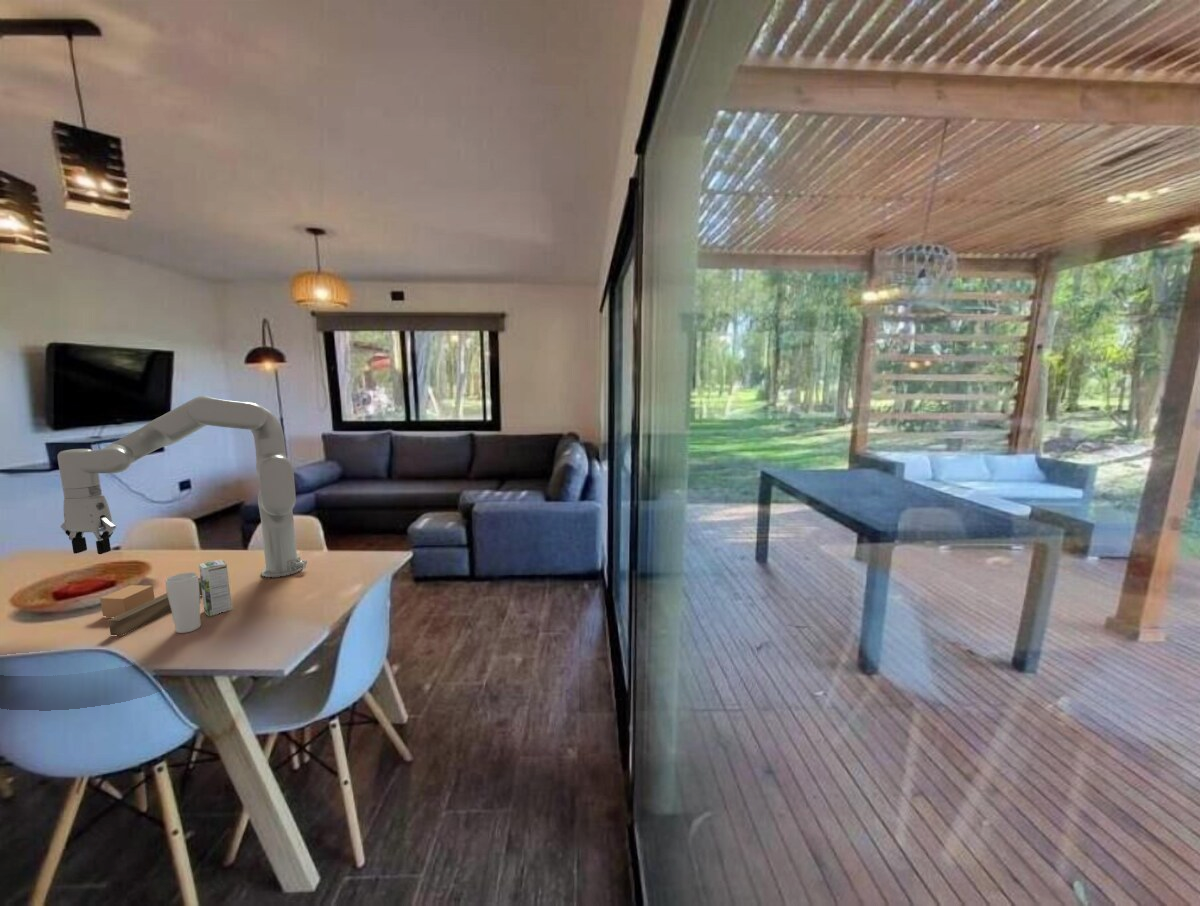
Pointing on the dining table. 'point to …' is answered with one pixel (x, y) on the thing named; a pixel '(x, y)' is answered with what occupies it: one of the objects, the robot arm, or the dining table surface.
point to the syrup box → (215, 587)
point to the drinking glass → (184, 601)
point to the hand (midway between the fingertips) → (92, 551)
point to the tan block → (126, 599)
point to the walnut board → (141, 615)
